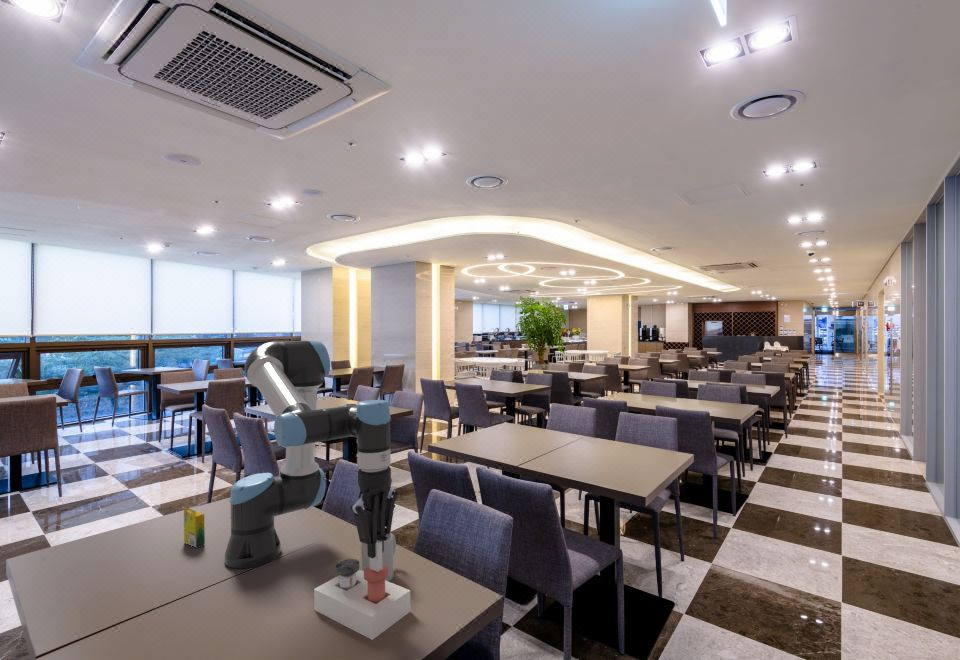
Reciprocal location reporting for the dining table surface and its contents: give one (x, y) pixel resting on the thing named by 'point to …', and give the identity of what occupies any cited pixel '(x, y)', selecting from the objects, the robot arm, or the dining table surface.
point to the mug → (386, 555)
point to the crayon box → (193, 528)
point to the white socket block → (362, 605)
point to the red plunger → (376, 584)
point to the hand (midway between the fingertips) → (376, 569)
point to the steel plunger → (347, 573)
